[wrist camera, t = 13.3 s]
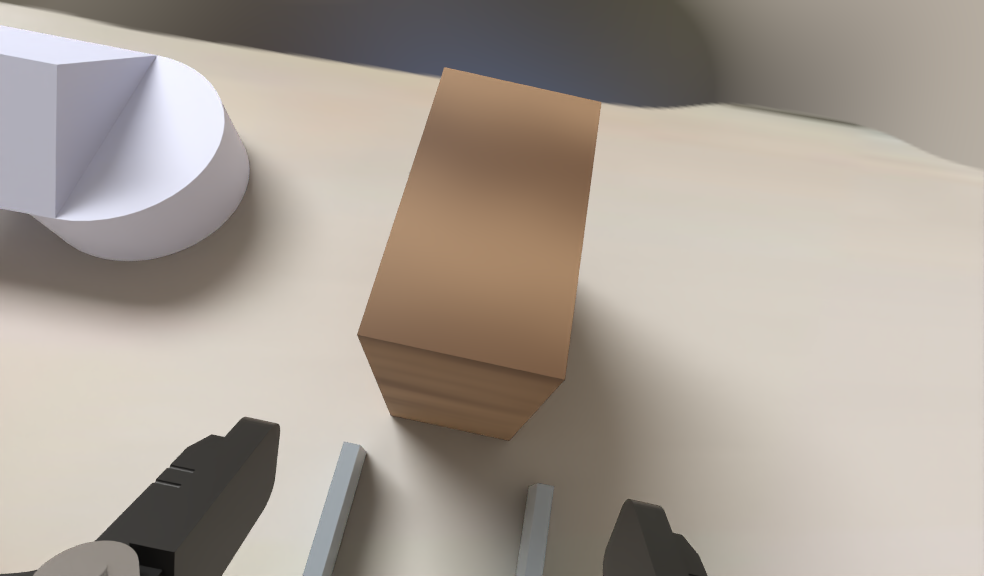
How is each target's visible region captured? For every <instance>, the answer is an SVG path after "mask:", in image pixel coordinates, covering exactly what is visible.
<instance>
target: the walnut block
mask: <svg viewBox="0 0 984 576" xmlns="http://www.w3.org/2000/svg"><path fill="white" fill-rule="evenodd" d="M600 109H601V102H598V101H593V100H589V99H585V98H580V97H576V96H571V95H567V94H562V93H558V92H553V91H549V90H544V89H539V88H535V87H531V86H526V85H522V84H517V83H513V82H508V81H504V80H499V79H495V78H490V77H486V76H481V75H477V74H472V73H468V72H464V71H458V70H454V69H450V68H446V67H445V68H444V70H443V74H442V77H441V80H440V83H439V86H438V89H437V92H436V95H435V98H434V101H433V104H432V107H431V110H430V113H429V116H428V119H427V123H426V126H425V129H424V132H423V135H422V138H421V141H420V144H419V147H418V150H417V153H416V156H415V159H414V162H413V165H412V168H411V171H410V175H409V178H408V181H407V184H406V187H405V190H404V193H403V196H402V199H401V202H400V205H399V208H398V211H397V214H396V217H395V220H394V224H393V227H392V230H391V233H390V236H389V239H388V242H387V245H386V248H385V251H384V254H383V257H382V260H381V263H380V266H379V269H378V273H377V276H376V279H375V282H374V285H373V288H372V291H371V294H370V297H369V300H368V303H367V306H366V309H365V312H364V315H363V318H362V321H361V325H360V328H359V331H358V334H357V335H358V338H359V340H360V343H361V345H362V347H363V350H364V352H365V355H366V357H367V359H368V362H369V364H370V367H371V369H372V372H373V374H374V376H375V379H376V381H377V384H378V386H379V388H380V391H381V393H382V396H383V398H384V400H385V403H386V405H387V408H388V410H389V412H390V415H392V416H396V417H401V418H406V419H410V420H415V421H420V422H424V423H429V424H433V425H438V426H443V427H447V428H452V429H457V430H461V431H466V432H471V433H475V434H480V435H485V436H489V437H494V438H499V439H503V440H508V441H509V440H510V439H511V438H512V437H513V436H514V435H515V434H516V433H517V432H518V431H519V429H520V428H521V427H522V426H523V425H524V424H525V423H526V422H527V421H528V420H529V418H530V417H531V416H532V415H533V414H534V413H535V412H536V411H537V410H538V409H539V407H540V406H541V405H542V404H543V403H544V402H545V401H546V400H547V399H548V398H549V396H550V395H551V394H552V393H553V392H554V391H555V390H556V389H557V388H558V387H559V385H560V384H561V383H562V382H563V381H564V380H565V374H566V367H567V359H568V352H569V344H570V336H571V329H572V321H573V314H574V306H575V299H576V291H577V283H578V276H579V268H580V261H581V253H582V245H583V238H584V230H585V223H586V215H587V208H588V200H589V192H590V185H591V177H592V170H593V162H594V154H595V147H596V139H597V132H598V124H599V116H600Z"/></svg>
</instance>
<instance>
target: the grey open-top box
mask: <svg viewBox="0 0 984 576" xmlns="http://www.w3.org/2000/svg"><path fill="white" fill-rule="evenodd" d="M366 453H367V452H366V451H365V450H364V449H363V448H362V447H361V445H357V444H353V443H348V442H344V443H343V446H342V449H341V453H340V456H339V459H338V462H337V466H336V469H335V472H334V475H333V479H332V482H331V485H330V488H329V492H328V495H327V498H326V501H325V505H324V508H323V511H322V514H321V518H320V521H319V524H318V527H317V531H316V534H315V537H314V540H313V544H312V547H311V550H310V553H309V557H308V560H307V563H306V566H305V570H304V573H303V576H331V575H332V572H333V568H334V565H335V561H336V558H337V554H338V551H339V547H340V544H341V540H342V537H343V533H344V530H345V526H346V523H347V519H348V516H349V512H350V509H351V505H352V502H353V498H354V495H355V491H356V488H357V484H358V481H359V477H360V474H361V470H362V467H363V463H364V460H365V456H366ZM553 491H554V486H550V485H546V484H541V483H536V484H534V485H531V486H529V488H528V495H527V502H526V509H525V515H524V522H523V529H522V536H521V542H520V549H519V556H518V563H517V569H516V576H543V569H544V561H545V553H546V545H547V538H548V530H549V522H550V514H551V506H552V498H553Z"/></svg>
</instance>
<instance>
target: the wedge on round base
mask: <svg viewBox="0 0 984 576" xmlns="http://www.w3.org/2000/svg"><path fill="white" fill-rule="evenodd" d="M249 173H250V166H249V158H248V155H247V151H246V149H245V147H244V145H243V143H242V141H241V139H240V137H239V135H238V133H237V131H236V129H235V127H234V125H233V123H232V121H231V119H230V117H229V115H228V113H227V111H226V109H225V107H224V105H223V103H222V101H221V99H220V97H219V95H218V93H217V91H216V90H215V89H214V87H213V86H212V85H211V83H210V82H209V81H208V80H207V79H206V78H205V77H204V76H203V75H201V74H200V73H198V72H197V71H196V70H194V69H193V68H191V67H189V66H187V65H185V64H183V63H181V62H178V61H175V60H173V59H170V58H166V57H162V56H158V55H153V54H148V53H142V52H137V51H132V50H127V49H122V48H116V47H111V46H106V45H101V44H96V43H90V42H85V41H80V40H75V39H70V38H64V37H59V36H54V35H49V34H43V33H38V32H33V31H28V30H23V29H17V28H12V27H7V26H2V25H0V209H5V210H11V211H16V212H22V213H27V214H30V215H31V216H32V217H34V218H35V219H36V220H38V221H39V222H40V223H42V224H43V225H44V226H46V227H47V228H48V229H50V230H51V231H52V232H53V233H55V234H56V235H57V236H59V237H60V238H61V239H63V240H64V241H65V242H67V243H68V244H69V245H71V246H73V247H74V248H76V249H78V250H79V251H81V252H84V253H86V254H89V255H91V256H95V257H99V258H103V259H108V260H116V261H140V260H149V259H154V258H159V257H163V256H167V255H170V254H173V253H176V252H179V251H182V250H184V249H186V248H188V247H190V246H193V245H195V244H196V243H198V242H200V241H201V240H203V239H205V238H206V237H208V236H209V235H211V234H212V233H213V232H215V231H216V230H217V229H218V228H219V227H221V226H222V225H223V224H224V223H225V222H226V221H227V220H228V219H229V217H230V216H231V215H232V214H233V213H234V211H235V210H236V209H237V207H238V205H239V204H240V202H241V201H242V198H243V196H244V194H245V192H246V189H247V185H248V181H249Z"/></svg>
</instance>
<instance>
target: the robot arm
mask: <svg viewBox="0 0 984 576" xmlns="http://www.w3.org/2000/svg"><path fill="white" fill-rule="evenodd" d="M279 437H280V426H279V424H277V423H272V422H267V421H263V420H258V419H254V418H249V417H243V418H242V419H241V420H240V421H239V422H238V423H237V424H236V425H235V426H234V427H233V428H232V430H231V431H230V432H229V433H228V434H227V435H226V436H225V437H221V436H217V435H210V436H208V437H206V438H204V439H202V440H200V441H199V442H197V443H195V444H193V445H191V446H189V447H187V448H186V449H185V450H184V451H183V452H182V453H181V455H180V456H179V457H178V458H177V459H176V460H175V461H174V462H173V463H172V464H171V465H170V468H167V469H166V470H165V471H164V472H163V473H162V474H161V475H160V476H159V477H158V478H157V479H156V482H155V483H152V484H151V485H150V486H149V487H148V488H147V489H146V490H145V491H144V492H143V493H142V494H141V495H140V496H139V497H138V498H137V499H136V500H135V501H134V502H133V503H132V504H131V505H130V506H129V507H128V508H127V509H126V510H125V511H124V512H123V513H122V514H121V515H120V516H119V517H118V518H117V519H116V520H115V521H114V522H113V523H112V524H111V525H110V526H109V527H108V528H107V530H106V531H105V532H104V533H103V534H102V535H101V536H100V537H99V538H98V539H97V540H95V541H94V542H89V543H85V544H81V545H78V546H75V547H73V548H70V549H68V550H66V551H64V552H62V553H60V554H58V555H56V556H55V557H53V558H52V559H50V560H49V561H47V562H46V563H45V564H44V565H42V566H41V567H40V568H39V569H38V570H34V571H30V572H22V573H11V574H0V576H222V574H223V573H224V571H225V570H226V568H227V566H228V565H229V563H230V562H231V560H232V559H233V557H234V555H235V554H236V552H237V551H238V549H239V548H240V546H241V544H242V543H243V541H244V540H245V538H246V537H247V535H248V533H249V532H250V530H251V529H252V527H253V526H254V524H255V522H256V521H257V519H258V518H259V516H260V515H261V513H262V511H263V510H264V508H265V506H266V504H267V502H268V500H269V498H270V495H271V492H272V489H273V486H274V481H275V474H276V465H277V455H278V446H279ZM603 576H707V573H706V571H705V569H704V566H703V564H702V562H701V559H700V557H699V555H698V554H697V553H696V551H695V550H694V549H693V548H692V546H691V545H690V544H689V543H688V542H687V540H686V539H685V538H684V537H683V535H680V534H676V533H672V530H671V527H670V525H669V522H668V520H667V517H666V514H665V512H664V510H663V508H662V507H661V506H658V505H654V504H649V503H645V502H640V501H635V500H631V499H628V500H626V501H625V503H624V504H623V506H622V509H621V511H620V514H619V517H618V519H617V522H616V524H615V527H614V529H613V532H612V535H611V537H610V540H609V542H608V545H607V547H606V551H605V555H604V561H603Z"/></svg>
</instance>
